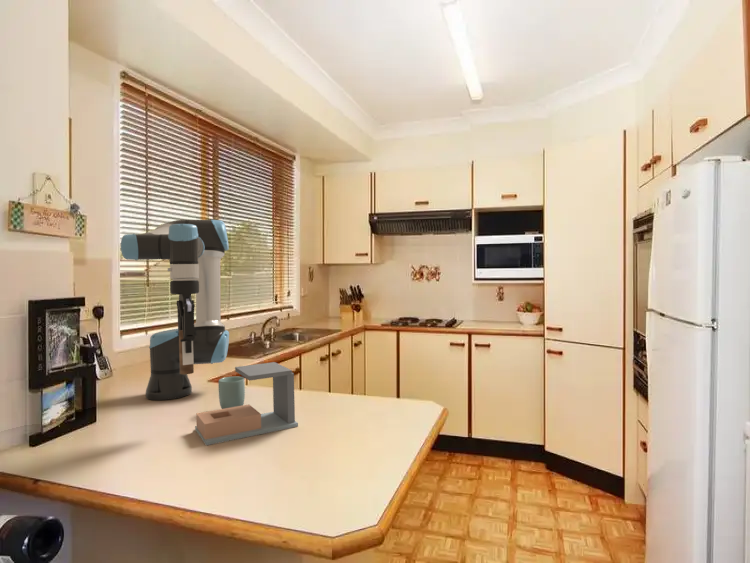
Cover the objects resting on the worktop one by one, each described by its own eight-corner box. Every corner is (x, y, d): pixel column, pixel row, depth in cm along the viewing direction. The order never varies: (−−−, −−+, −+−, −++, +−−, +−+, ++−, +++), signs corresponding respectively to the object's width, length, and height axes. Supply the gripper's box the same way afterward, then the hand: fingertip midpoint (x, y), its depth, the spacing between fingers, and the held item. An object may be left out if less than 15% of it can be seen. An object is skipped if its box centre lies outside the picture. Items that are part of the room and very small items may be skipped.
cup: (237, 414, 143) (236, 382, 142) (214, 413, 144) (213, 381, 144) (249, 407, 150) (248, 376, 150) (227, 406, 152) (226, 375, 152)
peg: (192, 371, 133) (191, 329, 132) (194, 373, 130) (193, 330, 129) (178, 372, 131) (177, 330, 130) (180, 375, 128) (180, 331, 127)
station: (195, 429, 130) (193, 372, 130) (280, 413, 143) (279, 361, 143) (206, 445, 118) (204, 382, 118) (297, 426, 131) (296, 369, 131)
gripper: (165, 279, 135) (168, 359, 135) (174, 280, 120) (177, 370, 121) (193, 279, 139) (195, 357, 139) (204, 279, 124) (207, 366, 125)
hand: (186, 362), depth 130 cm, fingers closed on peg, 3 cm apart
